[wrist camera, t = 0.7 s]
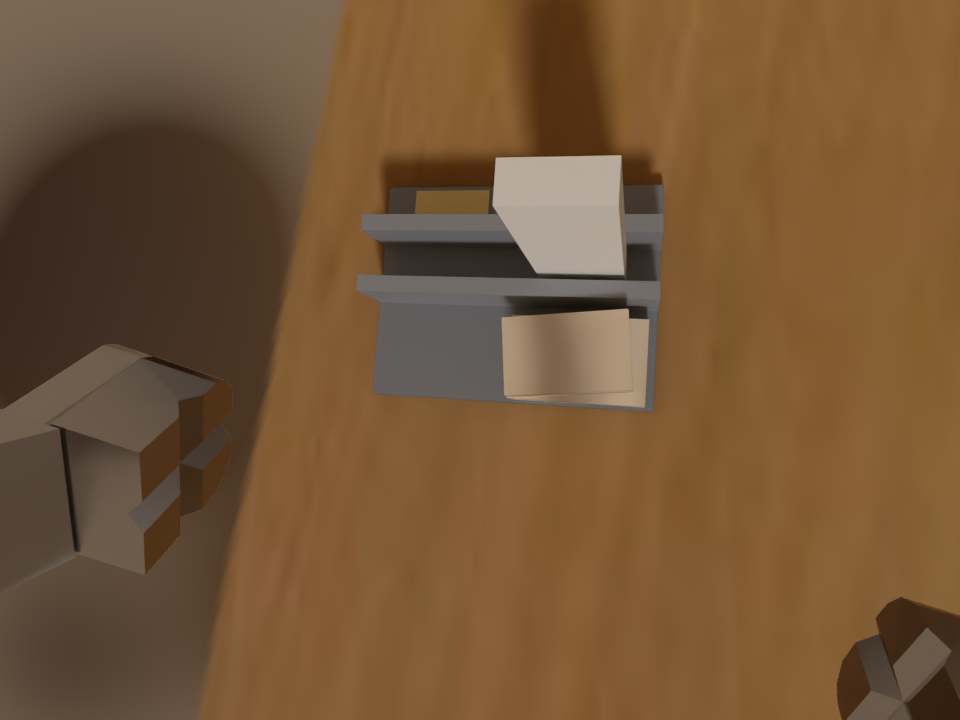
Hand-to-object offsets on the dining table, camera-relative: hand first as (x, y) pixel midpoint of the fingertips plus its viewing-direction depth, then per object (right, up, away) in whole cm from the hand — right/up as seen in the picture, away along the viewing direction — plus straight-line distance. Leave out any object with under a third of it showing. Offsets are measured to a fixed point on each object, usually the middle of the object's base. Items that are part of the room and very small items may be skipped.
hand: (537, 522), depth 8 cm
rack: (+2, +6, +36) cm, 37 cm away
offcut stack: (+6, +2, +34) cm, 34 cm away
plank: (+6, +8, +34) cm, 35 cm away
